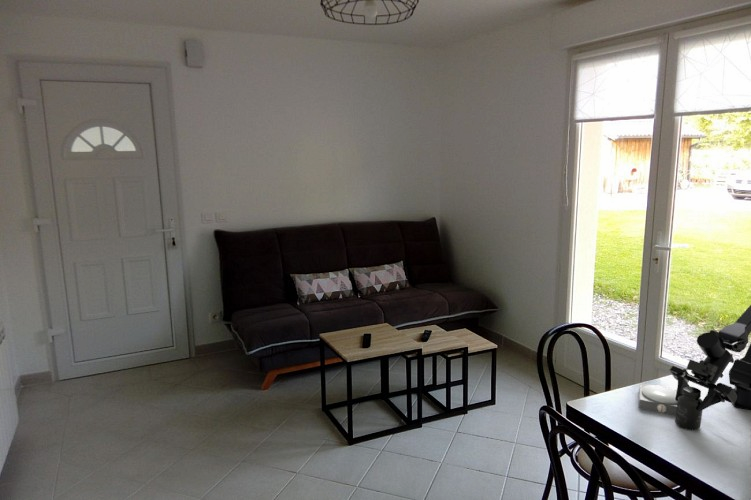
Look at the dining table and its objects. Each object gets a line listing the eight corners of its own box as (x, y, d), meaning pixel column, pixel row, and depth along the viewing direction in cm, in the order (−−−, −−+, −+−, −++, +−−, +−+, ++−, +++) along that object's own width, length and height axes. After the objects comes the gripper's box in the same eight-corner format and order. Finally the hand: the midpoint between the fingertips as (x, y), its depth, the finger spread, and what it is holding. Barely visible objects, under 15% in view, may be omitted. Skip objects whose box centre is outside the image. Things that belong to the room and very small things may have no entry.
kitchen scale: (681, 399, 178) (682, 389, 177) (684, 417, 166) (685, 406, 165) (639, 391, 184) (640, 381, 183) (639, 408, 172) (640, 398, 171)
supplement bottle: (704, 432, 158) (708, 395, 155) (679, 429, 159) (683, 393, 156) (695, 420, 164) (699, 385, 162) (671, 418, 165) (675, 383, 163)
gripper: (675, 340, 167) (649, 379, 164) (736, 362, 150) (707, 405, 148) (689, 359, 172) (663, 397, 169) (749, 382, 155) (721, 424, 153)
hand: (687, 405), depth 159 cm, fingers closed on supplement bottle, 7 cm apart
